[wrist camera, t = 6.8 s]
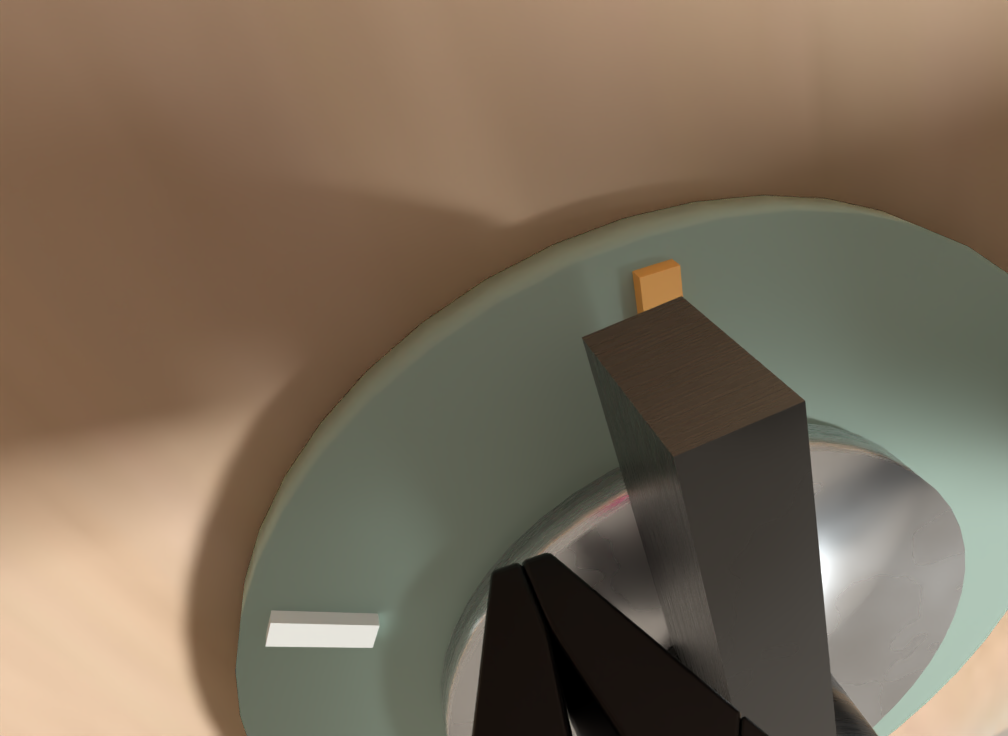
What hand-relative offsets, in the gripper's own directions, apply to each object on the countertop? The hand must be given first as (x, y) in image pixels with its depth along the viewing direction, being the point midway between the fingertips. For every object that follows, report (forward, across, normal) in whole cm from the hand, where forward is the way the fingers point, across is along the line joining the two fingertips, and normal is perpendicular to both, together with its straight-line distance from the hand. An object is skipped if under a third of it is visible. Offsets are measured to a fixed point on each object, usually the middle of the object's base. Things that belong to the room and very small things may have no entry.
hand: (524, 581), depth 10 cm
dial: (+3, -4, +5) cm, 7 cm away
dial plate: (+4, -4, +7) cm, 9 cm away
